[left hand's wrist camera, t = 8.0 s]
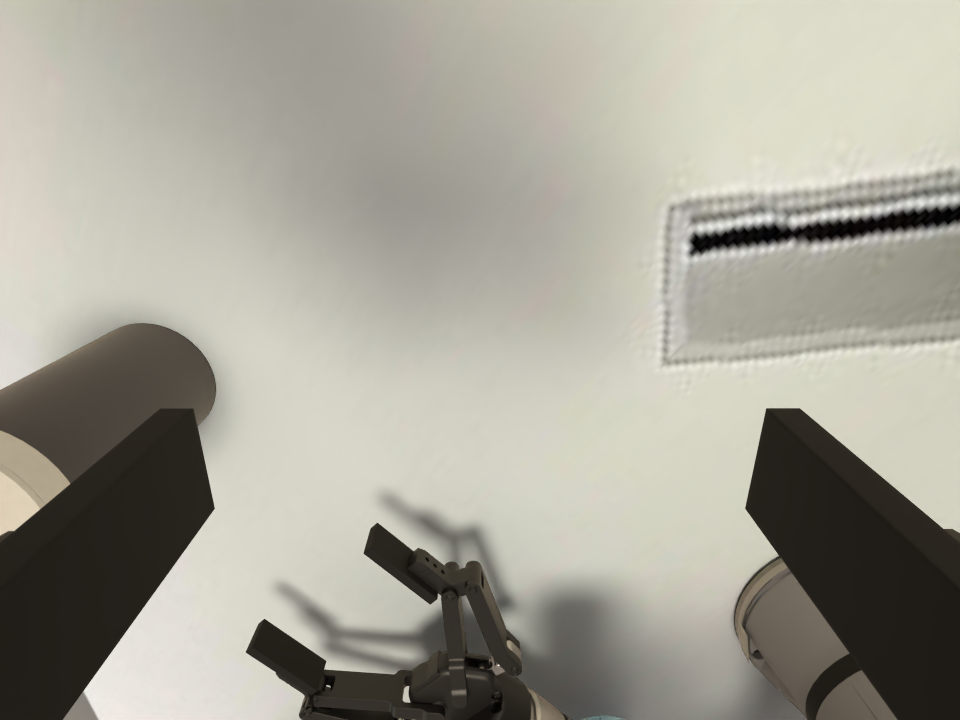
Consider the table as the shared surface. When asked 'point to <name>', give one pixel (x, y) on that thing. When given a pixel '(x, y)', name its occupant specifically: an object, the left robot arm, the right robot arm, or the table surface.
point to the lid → (24, 482)
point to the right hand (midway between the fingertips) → (310, 588)
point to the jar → (105, 394)
